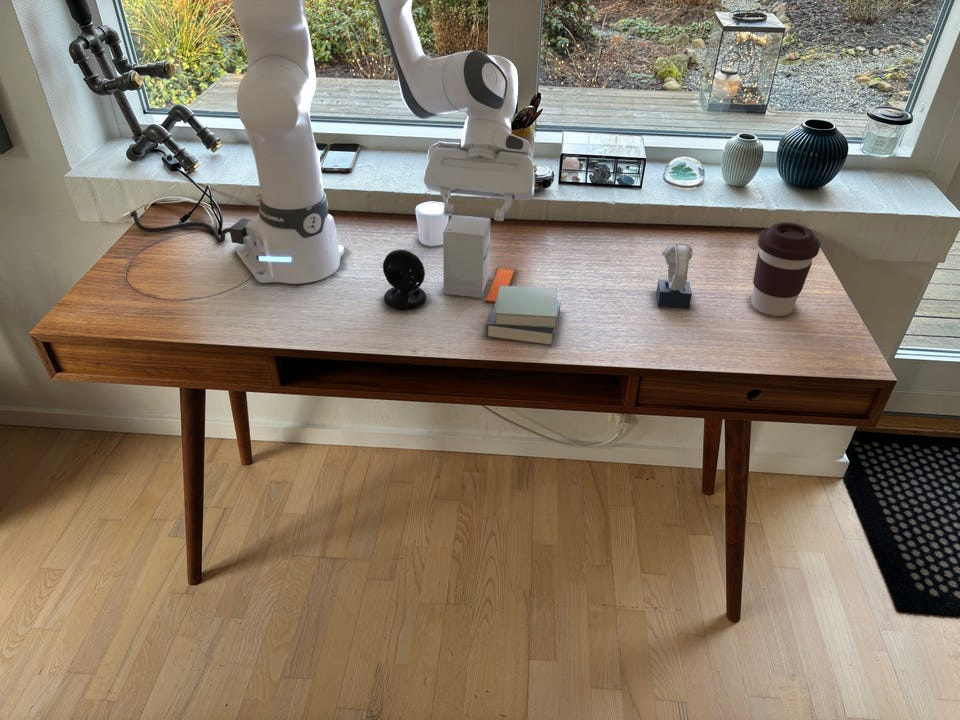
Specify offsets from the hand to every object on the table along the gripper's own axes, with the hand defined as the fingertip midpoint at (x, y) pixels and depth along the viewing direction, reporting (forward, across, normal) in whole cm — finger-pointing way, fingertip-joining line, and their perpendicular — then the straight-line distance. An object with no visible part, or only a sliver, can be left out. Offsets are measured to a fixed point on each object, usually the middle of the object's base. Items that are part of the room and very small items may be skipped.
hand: (473, 217), depth 142 cm
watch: (+9, +37, +8) cm, 39 cm away
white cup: (0, -11, +17) cm, 20 cm away
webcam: (+17, -10, 0) cm, 20 cm away
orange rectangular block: (+11, +6, +6) cm, 14 cm away
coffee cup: (+8, +55, +10) cm, 56 cm away
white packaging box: (+12, 0, +5) cm, 13 cm away
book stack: (+19, +12, -2) cm, 23 cm away
